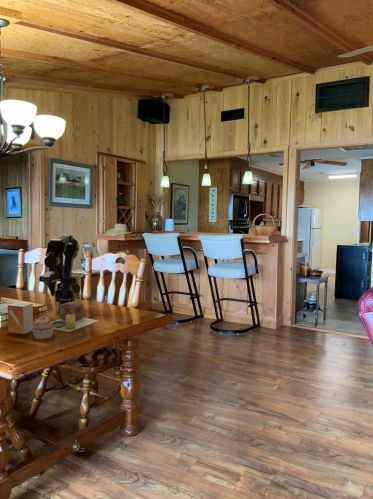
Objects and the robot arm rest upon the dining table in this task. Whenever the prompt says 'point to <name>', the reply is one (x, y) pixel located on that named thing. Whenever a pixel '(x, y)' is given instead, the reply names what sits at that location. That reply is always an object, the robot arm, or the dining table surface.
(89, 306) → the dining table surface
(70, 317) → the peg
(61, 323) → the board
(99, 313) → the dining table surface
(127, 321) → the dining table surface
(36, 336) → the cupcake
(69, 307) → the housing
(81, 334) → the dining table surface
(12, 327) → the small box
